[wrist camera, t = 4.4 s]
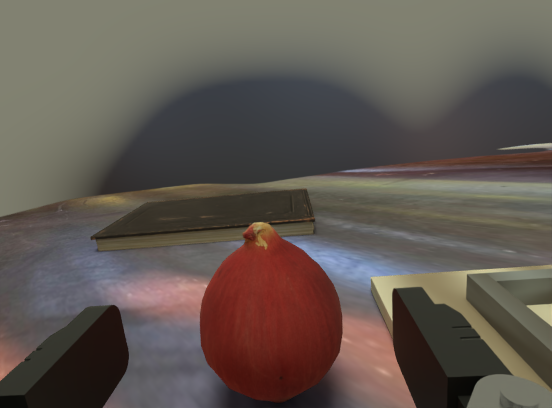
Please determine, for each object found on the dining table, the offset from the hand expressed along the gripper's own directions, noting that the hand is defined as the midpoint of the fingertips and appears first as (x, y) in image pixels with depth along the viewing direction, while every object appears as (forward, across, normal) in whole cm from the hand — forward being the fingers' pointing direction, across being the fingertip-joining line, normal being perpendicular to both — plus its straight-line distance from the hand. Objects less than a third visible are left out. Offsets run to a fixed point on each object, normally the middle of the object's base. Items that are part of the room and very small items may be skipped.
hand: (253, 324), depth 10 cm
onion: (+4, 0, +6) cm, 7 cm away
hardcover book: (+33, +9, +7) cm, 35 cm away
